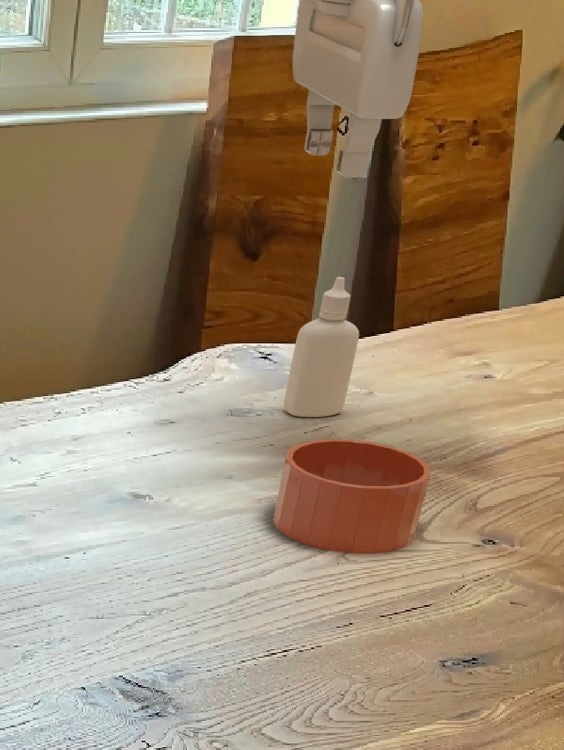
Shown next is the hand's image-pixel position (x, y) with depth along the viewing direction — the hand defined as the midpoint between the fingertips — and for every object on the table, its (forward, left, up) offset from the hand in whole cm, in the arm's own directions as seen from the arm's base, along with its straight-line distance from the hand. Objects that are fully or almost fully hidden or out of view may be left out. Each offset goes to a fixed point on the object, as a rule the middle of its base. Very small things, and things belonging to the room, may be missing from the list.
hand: (332, 164), depth 120 cm
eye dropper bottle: (-8, -7, -23) cm, 25 cm away
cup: (+8, +22, -23) cm, 33 cm away
